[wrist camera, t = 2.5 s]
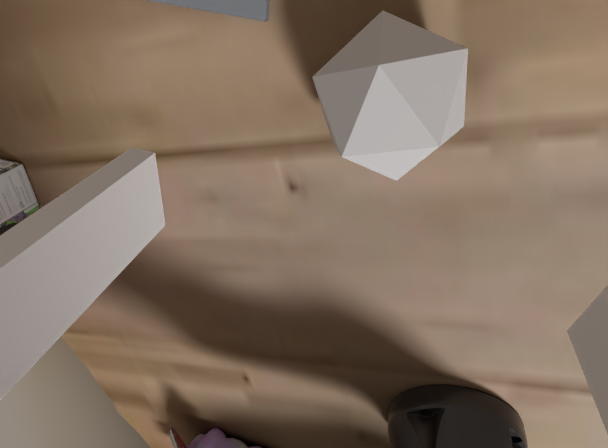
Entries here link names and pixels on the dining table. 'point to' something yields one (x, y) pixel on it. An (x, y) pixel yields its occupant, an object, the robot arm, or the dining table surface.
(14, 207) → the syrup box
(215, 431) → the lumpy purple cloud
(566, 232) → the dining table surface
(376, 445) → the dining table surface
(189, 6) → the mat
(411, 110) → the die
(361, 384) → the dining table surface
